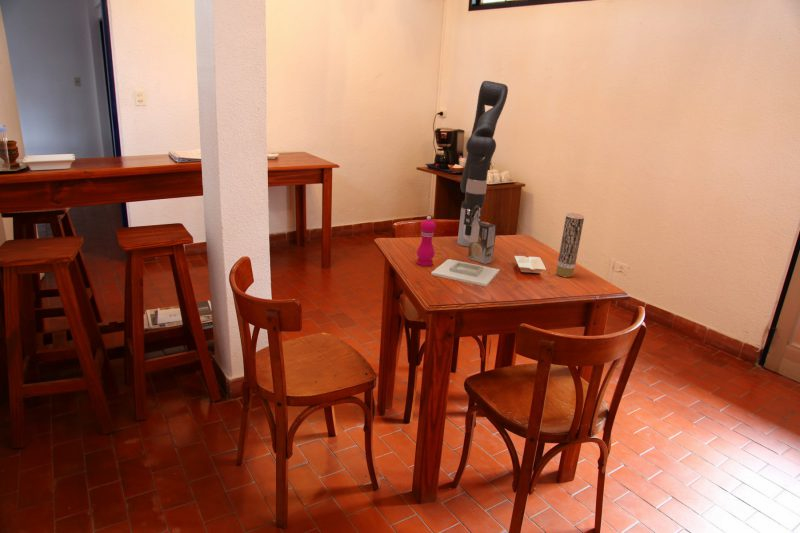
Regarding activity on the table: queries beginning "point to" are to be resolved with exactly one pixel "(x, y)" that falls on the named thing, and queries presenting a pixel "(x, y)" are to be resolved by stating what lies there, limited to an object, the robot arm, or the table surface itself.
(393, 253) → the table surface
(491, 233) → the coffee box
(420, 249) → the pepper mill
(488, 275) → the white switch plate
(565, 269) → the paper tube
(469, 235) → the robot arm
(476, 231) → the white tea box
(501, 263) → the table surface
